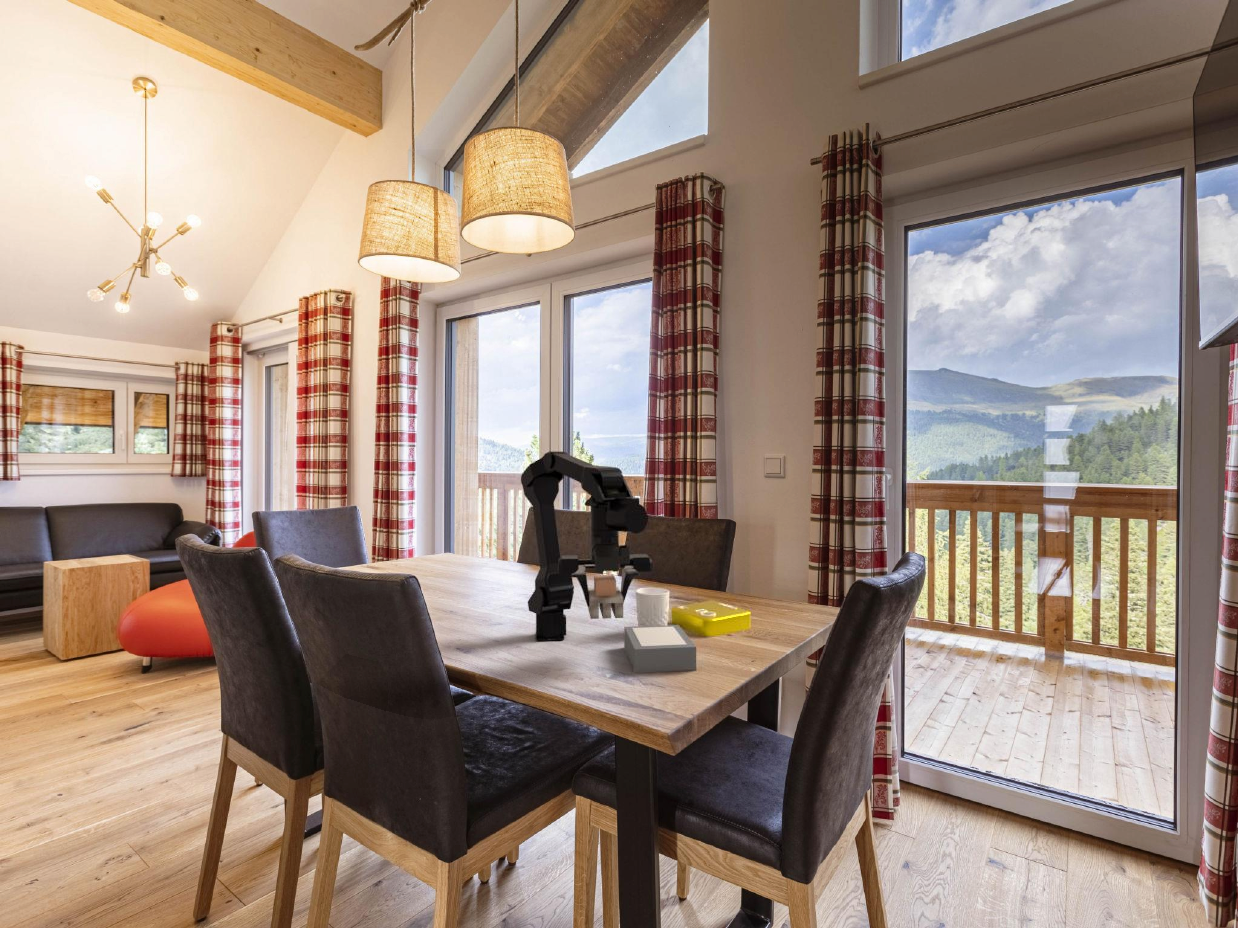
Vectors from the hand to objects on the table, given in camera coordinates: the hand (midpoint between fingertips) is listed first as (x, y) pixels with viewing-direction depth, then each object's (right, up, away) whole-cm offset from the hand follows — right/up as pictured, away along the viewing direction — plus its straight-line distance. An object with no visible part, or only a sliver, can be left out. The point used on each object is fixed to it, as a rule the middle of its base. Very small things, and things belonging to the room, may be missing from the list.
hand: (605, 605), depth 126 cm
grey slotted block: (0, -1, 0) cm, 1 cm away
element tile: (+25, -11, +26) cm, 38 cm away
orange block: (0, +3, 0) cm, 3 cm away
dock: (+11, -11, +1) cm, 16 cm away
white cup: (+11, -11, +20) cm, 25 cm away
